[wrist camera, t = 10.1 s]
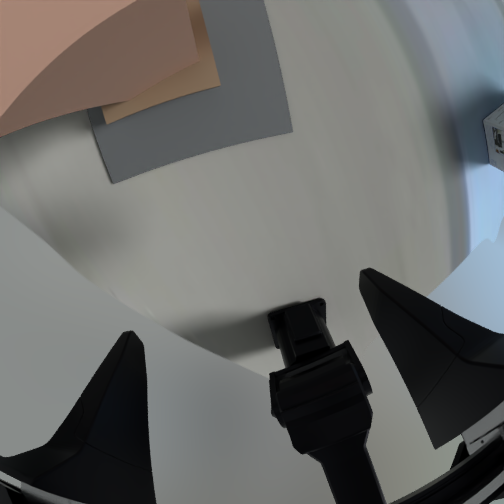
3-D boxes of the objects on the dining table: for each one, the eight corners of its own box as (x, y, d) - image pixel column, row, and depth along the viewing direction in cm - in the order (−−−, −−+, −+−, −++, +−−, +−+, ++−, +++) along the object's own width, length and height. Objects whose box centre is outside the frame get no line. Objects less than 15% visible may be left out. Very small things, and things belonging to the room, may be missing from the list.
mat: (291, 131, 19) (292, 132, 19) (114, 182, 19) (113, 184, 18) (258, -12, 12) (259, -13, 12) (72, 47, 12) (70, 47, 11)
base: (218, 86, 16) (220, 85, 13) (122, 118, 16) (106, 124, 13) (196, 2, 12) (195, -15, 9) (100, 36, 12) (81, 28, 9)
